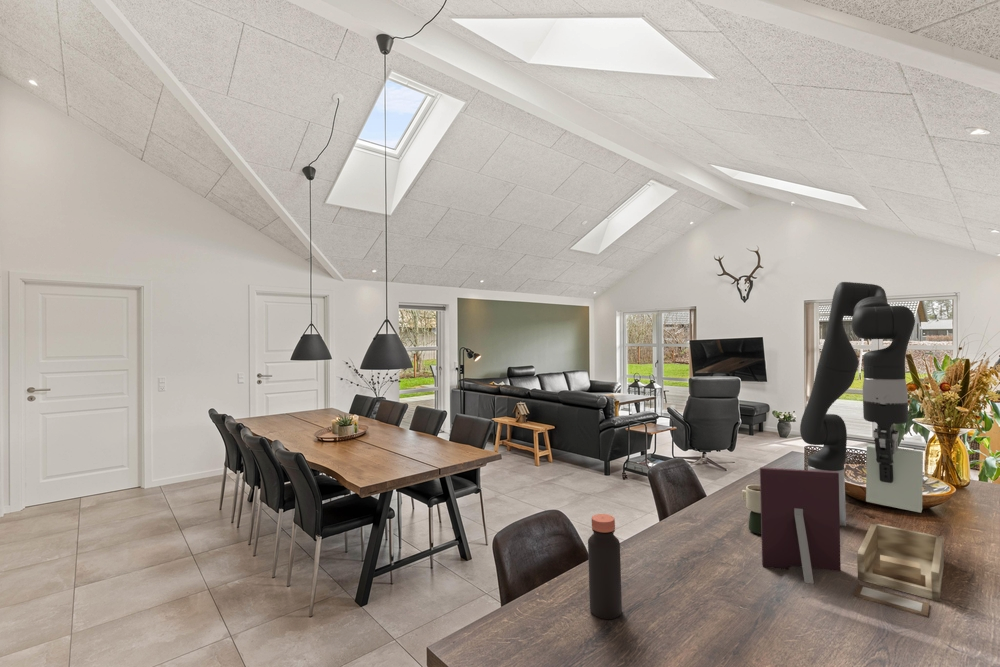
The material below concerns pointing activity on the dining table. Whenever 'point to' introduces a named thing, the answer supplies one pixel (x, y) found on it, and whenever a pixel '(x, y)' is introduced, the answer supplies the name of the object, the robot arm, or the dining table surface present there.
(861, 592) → the board
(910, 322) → the robot arm
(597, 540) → the bottle
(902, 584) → the tray
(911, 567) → the offcut upper
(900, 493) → the pale green slanted prism
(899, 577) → the offcut lower
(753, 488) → the character mug
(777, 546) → the picture frame
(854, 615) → the dining table surface
